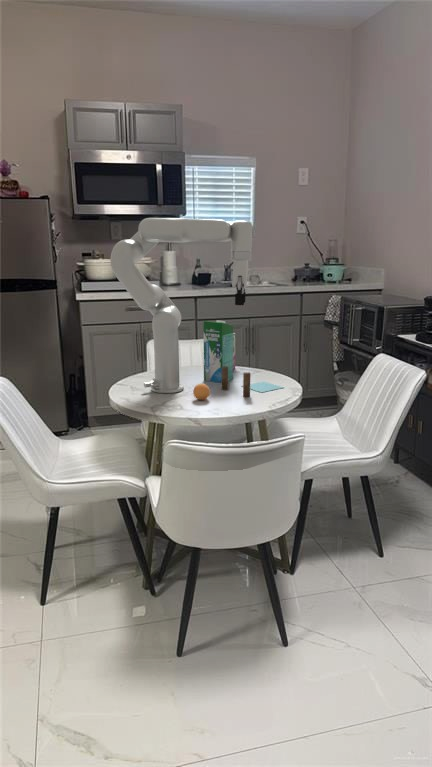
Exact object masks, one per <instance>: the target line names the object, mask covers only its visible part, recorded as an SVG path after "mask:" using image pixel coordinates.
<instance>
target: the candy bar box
mask: <svg viewBox="0 0 432 767" xmlns="http://www.w3.org/2000/svg"><path fill="white" fill-rule="evenodd" d="M235 369H236V333H235V332H233V371H234V370H235Z"/></svg>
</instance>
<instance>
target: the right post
mask: <svg viewBox="0 0 432 767" xmlns="http://www.w3.org/2000/svg"><path fill="white" fill-rule="evenodd" d="M242 375H243V381H242V386H243V387H242V389H243V390H242V391H243V392H242V396H243V398H250V397H251V389H250V384H251V372H250V371H249V372H248V371H246V372H245V371H244V372H243V374H242Z"/></svg>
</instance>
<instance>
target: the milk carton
mask: <svg viewBox="0 0 432 767" xmlns="http://www.w3.org/2000/svg"><path fill="white" fill-rule="evenodd" d="M233 333H234V325H233V324H229V323H226V320H217V319H216V321H209V320H207V321H205V320H203V381H207V382H213V383H220V384H222V366H228V381H230V380H232V379H234V370H233Z"/></svg>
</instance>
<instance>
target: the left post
mask: <svg viewBox="0 0 432 767" xmlns="http://www.w3.org/2000/svg"><path fill="white" fill-rule="evenodd" d="M221 390H222V391H228V390H229V380H228V366H222V383H221Z"/></svg>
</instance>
